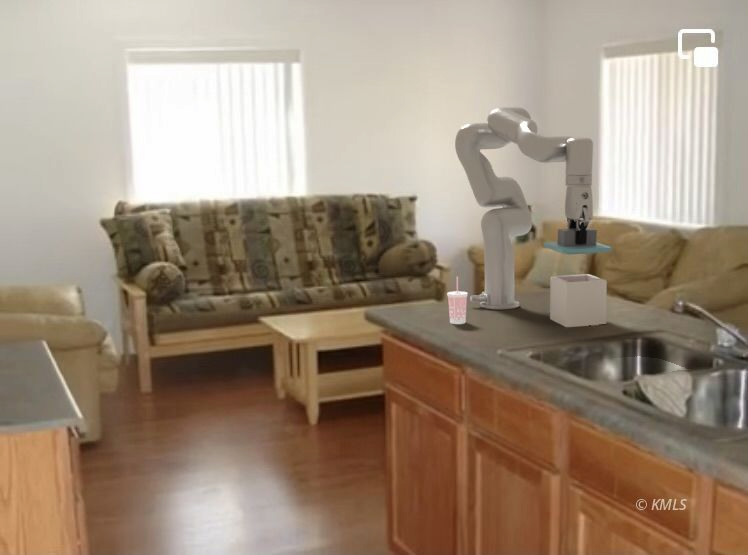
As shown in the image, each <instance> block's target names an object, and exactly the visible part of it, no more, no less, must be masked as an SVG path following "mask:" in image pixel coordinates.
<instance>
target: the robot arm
mask: <svg viewBox="0 0 748 555" xmlns="http://www.w3.org/2000/svg"><path fill="white" fill-rule="evenodd" d="M511 143H513V144H516V145H517V147H518V148H519V150H520V152H521V153H522V154H523V155H524V156H526V157H528V158H530V159H532V160H534V161H537V162H540V163H542V164H543V163H544V164H548V163H563V162H564V163H565V179H564V180H565V182H564V183H565V184H564V185H565V187H566V190H565V200H564V201H565V202H564V214H565V217H566V219H567V220H566V221H567V226H566V227H567V229H572V228H577V231H576V238H575V244H577V245H578V244H586V239H587V228H588V226H589V224H590V222H591V221H592V220H593V215H594V214H593V213H594V212H593V211H594V210H593V209H594V208H593V207H594V206H593V190H592V186H593V158H594V157H593V155H594V154H593V153H594V152H593V151H594V142H593V139H592V138H589V137H573V136H568V135H561V136H559V135H558V136H543V135H541V134H538V125H537V123H536V122H535V121H534V120H532V118H531V115H530V113H529V111H527V110H526V109H525V108H523V107H517V106H515V107H498V108H495V109H493V110H492V111H491V112H490V113H489V114H488V115H487V119H486V122H475V123H474V122H473V123H469V124H465V125H463V126H462V127H460V128H459V129H458V131H457V133H456V136H455V141H454V147H455V148H454V150H455V153H456V155H457V158H458V160H459V162H460V164H461V166H462V167H463V170H464V172H465V174H466V177H467V180H468V182H469V185H470V187H471V190H472V191H471V192H472V193H473V196H474V198H475V201H476V203H477V204H478V205H479V206H480V207H482V208H492V209H490V210H488V211H486V212H485V213H484V214H483V216H482V217H481V220H480V228H481V229H480V230H481V233H482V234H481V235H482V237H483V246H484V247H483V248H484V250H483V252H484V253H483V254H484V258H483V259H484V291H481V293H480V294H479V295H475V294H474V295H470V297H469V299H470V302H476V303H478V302H479V307H480V308H482V309H487V310H512V309H516V308H518V307H520V302H519V301H517V300H515V249H514V246H513V244H512V242H511V240H510V238H514V237H520V236H525V235H526V234H529V232H530V231H531V229H532V226H533V218H532V214H531V211H530V208H529V206H528V202H527V201H526V198H525V195H524V193H523V190H522V187H521V186H520V184H519V182H518V181H517V180H515V179H514V178H513V177H509V176H497V175H496V173H495V171H494V169H493V167H492V166H493V165H492V164H491V162H490V161H489V159H488V158H487V156H485V155H484V154H483V153H482V152H481V150H495V149H501V148H504V147H506V146H507V145H509V144H511ZM497 207H498V208H497Z"/></svg>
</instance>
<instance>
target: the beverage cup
mask: <svg viewBox="0 0 748 555" xmlns="http://www.w3.org/2000/svg"><path fill="white" fill-rule="evenodd" d="M446 295H447V298H448V301H447V302H448V312H449V313H448V314H449V323H450V324H451V325H452V324H453V325H463V324H465V323H466V319H467V318H466V317H467V300H468V299H467V298H468V292H466V291H459V276H457V275H456V290H454V291H449V292H447V293H446Z"/></svg>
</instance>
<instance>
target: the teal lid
mask: <svg viewBox="0 0 748 555" xmlns="http://www.w3.org/2000/svg"><path fill="white" fill-rule="evenodd" d="M576 231H577V228H572V229H568V228H557V241H543V243H542V244H543V245H542V246H543V248H544V247H545V248H547V249H550V250H552V251H555V252H557V253H559V254H561V255H562V254H564V255H565V254H566V255H586V254H589V255H590V254H592V255H593V254H599V253H605V252H606V253H609V252H610V253H611V252H612V249H613V248H612V247H611V246H609V245H605V244H602V243H599V242H597V236H598V235H597V233H598V230H597V229H594V228H591V227H587V239H586V244H578V245H577V244H575V238H576Z"/></svg>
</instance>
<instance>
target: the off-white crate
mask: <svg viewBox="0 0 748 555" xmlns="http://www.w3.org/2000/svg"><path fill="white" fill-rule="evenodd" d="M549 278H550V280H549V290H550V292H549V319H550V320H551V321H553V322H555V323H556V324H559V325H560V326H563V327H565V328H575V327H587V326H588V327H589V325H591V326H600V325H599V324H606V325H607V292H608V291H607V288H608V287H607V286H608V285H607V284H608V281H607V279H603V278H600V277H598V276H596V275H592V274H589V273H586V274H570V275H569V274H568V275H553V276H552V275H551V276H550V277H549Z"/></svg>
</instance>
